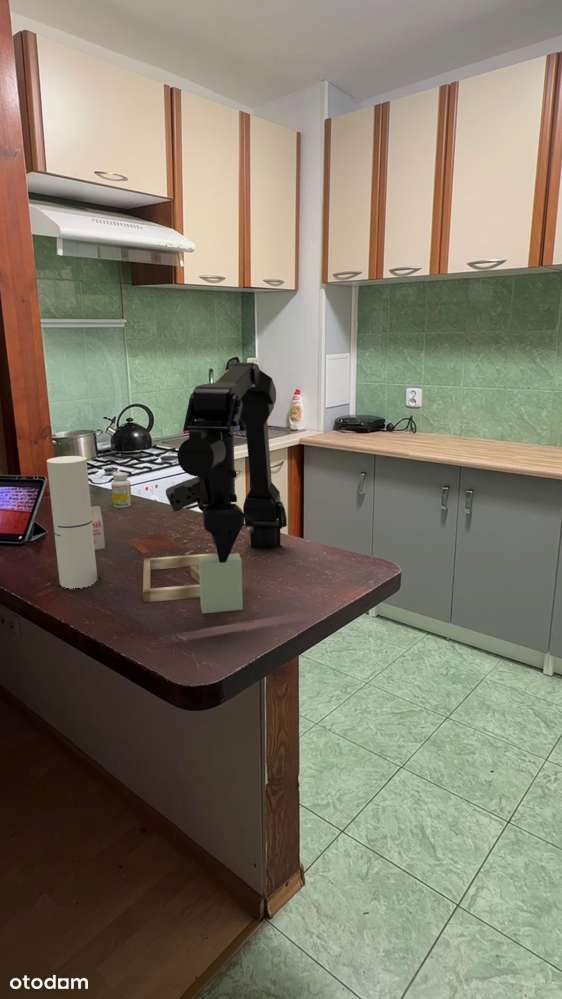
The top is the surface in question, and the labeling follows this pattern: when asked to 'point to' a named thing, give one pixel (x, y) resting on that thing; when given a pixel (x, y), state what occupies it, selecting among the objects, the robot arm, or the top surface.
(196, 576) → the tan flat block
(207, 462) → the robot arm
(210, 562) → the sage green prism
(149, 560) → the rack
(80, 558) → the cylindrical container
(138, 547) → the wooden tablet
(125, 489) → the supplement bottle
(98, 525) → the white box
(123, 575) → the top surface
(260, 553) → the top surface
